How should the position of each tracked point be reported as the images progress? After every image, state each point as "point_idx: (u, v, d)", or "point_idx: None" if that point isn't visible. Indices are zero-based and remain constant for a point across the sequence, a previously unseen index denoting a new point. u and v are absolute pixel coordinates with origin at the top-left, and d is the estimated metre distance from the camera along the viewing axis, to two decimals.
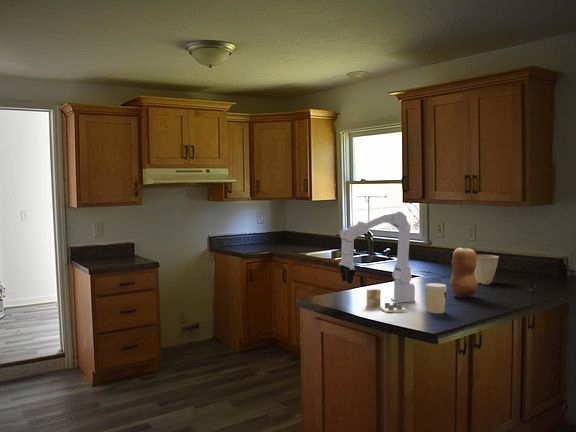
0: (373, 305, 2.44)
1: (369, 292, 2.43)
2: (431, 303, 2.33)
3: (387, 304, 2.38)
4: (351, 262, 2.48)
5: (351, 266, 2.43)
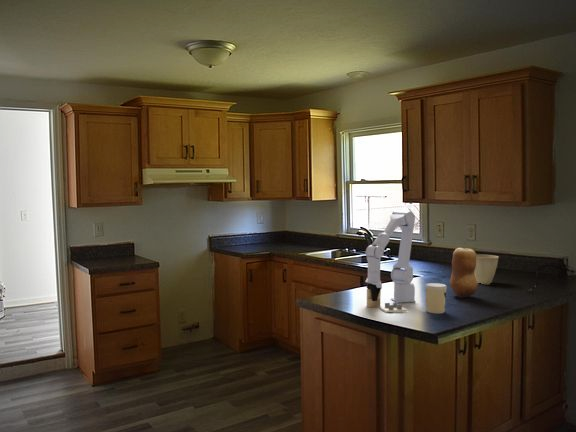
0: (373, 305, 2.44)
1: (369, 292, 2.43)
2: (431, 303, 2.33)
3: (387, 304, 2.38)
4: (378, 280, 2.42)
5: (378, 284, 2.37)
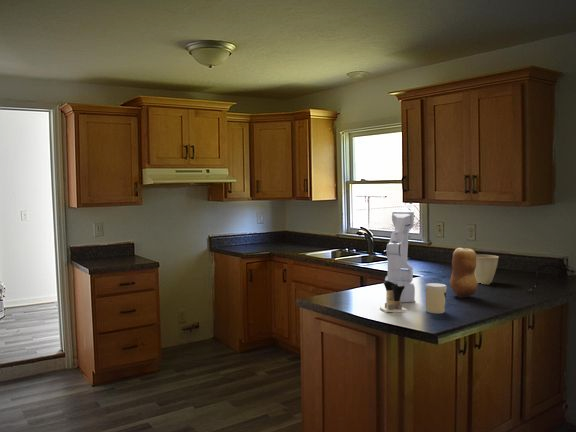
0: None
1: (389, 293, 2.35)
2: (431, 303, 2.33)
3: None
4: (398, 278, 2.34)
5: (399, 283, 2.29)
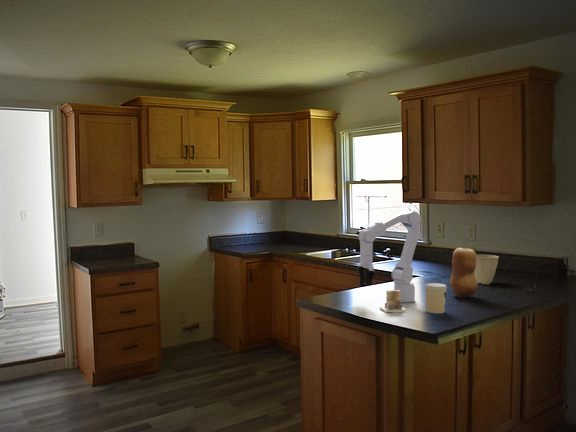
0: None
1: (389, 293, 2.35)
2: (431, 303, 2.33)
3: None
4: (370, 263, 2.46)
5: (370, 267, 2.41)
